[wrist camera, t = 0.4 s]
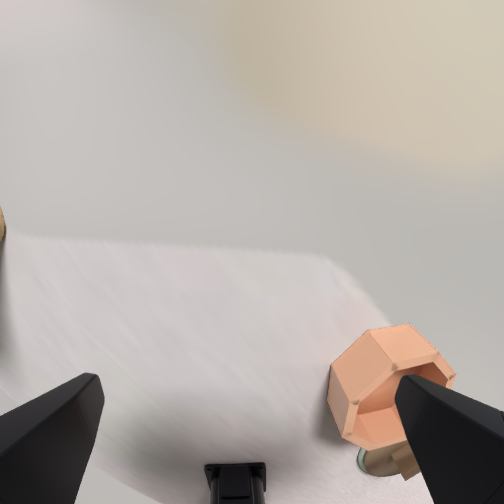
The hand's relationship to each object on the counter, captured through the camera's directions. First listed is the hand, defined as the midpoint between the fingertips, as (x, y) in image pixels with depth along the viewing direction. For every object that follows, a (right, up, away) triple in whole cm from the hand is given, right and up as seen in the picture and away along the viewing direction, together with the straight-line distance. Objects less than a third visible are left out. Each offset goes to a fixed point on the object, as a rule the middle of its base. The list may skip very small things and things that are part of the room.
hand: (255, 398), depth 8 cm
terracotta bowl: (+12, -7, +17) cm, 22 cm away
